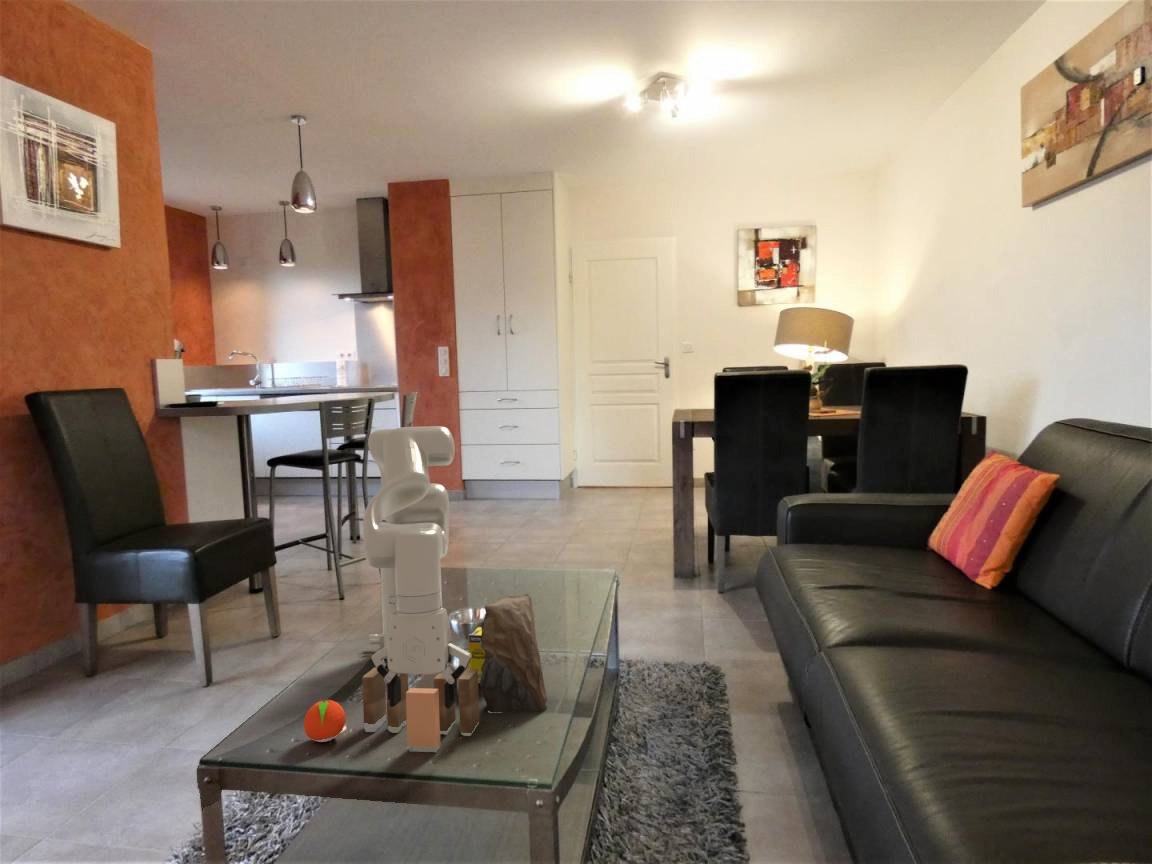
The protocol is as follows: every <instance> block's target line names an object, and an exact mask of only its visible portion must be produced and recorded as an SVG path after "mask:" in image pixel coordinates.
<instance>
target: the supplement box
mask: <svg viewBox="0 0 1152 864" xmlns="http://www.w3.org/2000/svg"><path fill="white" fill-rule="evenodd" d="M481 635H482V626H481V627H480V626H478V627H477V628H476V629H475V630H473V631H472V632H471V633H469V634H468V636H467V638H468V639H467V641H468V642H467V643H468V644H467V645H468V653H470V654H471V655H472V657H471V659H470V662H469V664H468V669H478V688H479V687H480V688H481V686H480V680H481V677H482V671H481V667H482V666H483V663H484V661H485V652H484V650H483V649H482V639H481Z"/></svg>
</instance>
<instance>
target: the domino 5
mask: <svg viewBox="0 0 1152 864" xmlns="http://www.w3.org/2000/svg"><path fill="white" fill-rule="evenodd" d="M457 685H458V708H459V733H460V732H462V733H472V731H473V730H474V728H475V726H476V725H477V723H478V722H479V723H480V703H479V702H480V701H479V687H478V669H469V668H466V670H465V671H464V672H463V673H462V674H461V675H460V676H459V677H458V679H457Z"/></svg>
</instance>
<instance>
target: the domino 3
mask: <svg viewBox="0 0 1152 864" xmlns="http://www.w3.org/2000/svg"><path fill="white" fill-rule="evenodd" d="M406 713H407V725H406V736H407V737H406V739H407V746H408V745H409V746H425V747H437V746H438V745H439V743H440V744H441V735H440V719H439V690H438V689H434V688H431V687H430V688H427V687H425V688H423V687H421V688H419V687H409V688H408V691H407V692H406Z"/></svg>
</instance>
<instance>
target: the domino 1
mask: <svg viewBox="0 0 1152 864" xmlns="http://www.w3.org/2000/svg"><path fill="white" fill-rule="evenodd" d="M361 680H362V707H363V709H362V710H363V711H362V712H363V724H364V723H368V724H375V723H376V722H377V721H378V720H379V719H381V718H382V717H383V716H384V715H385V714H386V715H387V696H386V682H385V681H384V678H383V677H382V676H381V675H380V674H379V672H378V671H377V667H376V666H375V667H373V668H372V669H371V670H370V671H368V672H366V673H365V674H364V675H363V676H362V678H361Z"/></svg>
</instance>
